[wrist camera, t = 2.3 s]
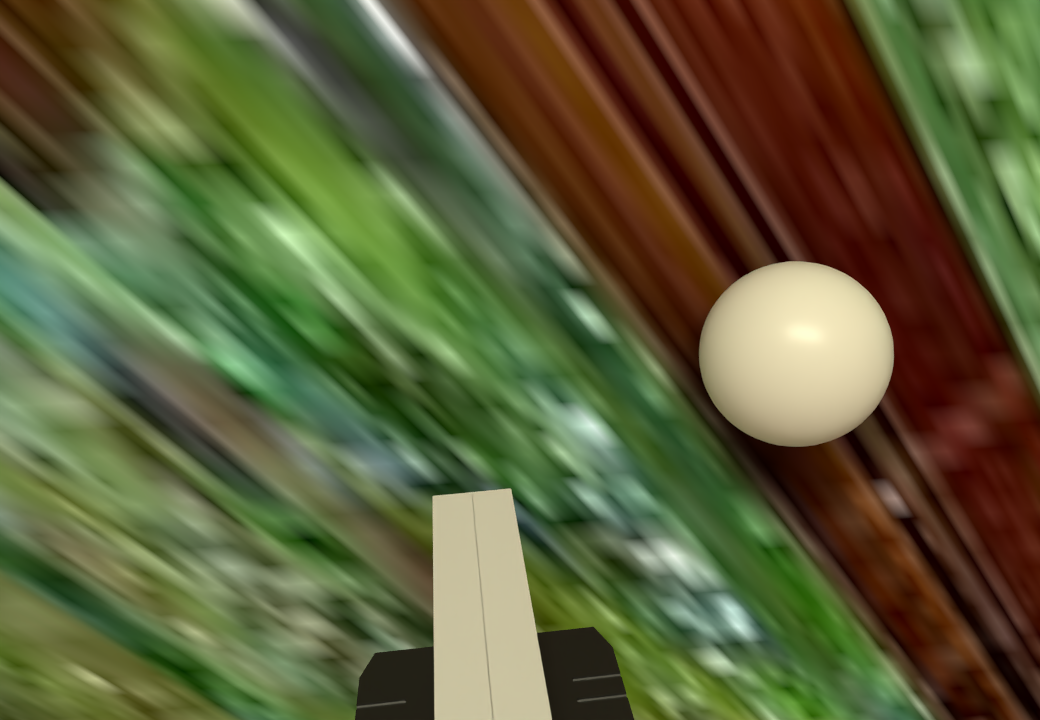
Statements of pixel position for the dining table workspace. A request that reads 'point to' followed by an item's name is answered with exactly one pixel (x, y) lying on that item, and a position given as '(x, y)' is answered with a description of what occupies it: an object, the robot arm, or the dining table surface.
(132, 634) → the dining table surface
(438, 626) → the robot arm
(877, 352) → the cue ball
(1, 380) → the dining table surface
